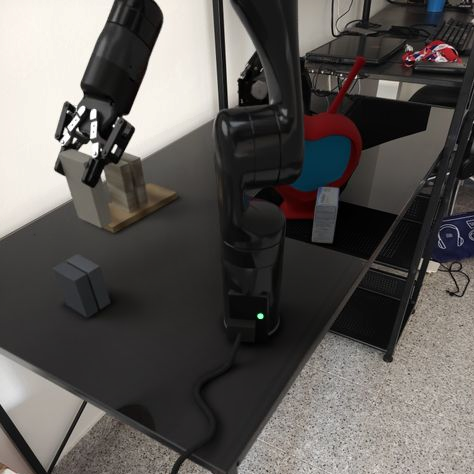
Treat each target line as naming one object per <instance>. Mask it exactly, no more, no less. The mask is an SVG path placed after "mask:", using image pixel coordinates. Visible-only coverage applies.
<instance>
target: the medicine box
mask: <svg viewBox="0 0 474 474" xmlns="http://www.w3.org/2000/svg"><path fill="white" fill-rule="evenodd" d="M339 199H340V188H333V187H319V189H318V195H317V201H316V206H315V213H314V219H313V225H312V233H311V234H312V235H311V242H312V243H318V244H319V243H320V244H331V245H332V244H333V242H334V237H335V230H336V224H337V223H336V222H337V218H338V217H337V216H338V209H339Z"/></svg>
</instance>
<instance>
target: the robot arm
mask: <svg viewBox="0 0 474 474" xmlns="http://www.w3.org/2000/svg"><path fill="white" fill-rule="evenodd" d="M227 2H228V3H229V5H230V7H231V8H232V10H233V11H234V13H235V15H236V16H237V18H238V20H239V22H240V23H241V25H242V26H243V28H244V30H245V31H246V33H247V35H248V37H249V38H250V40H251V42H252V44H253V47H254V48H255V51H257V53H258V55H259V58H260V60H261V63H262V66H263V68H262V69H263V70H264V73H265V77H266V82H267V87H268V94H269V105H257V106H247V107H239V106H237V107H228V108H223V109H220V110H219V111H218V112H217V113H216V115H215V116H214V120H213V122H212V133H211V134H212V135H211V138H212V139H211V140H212V152H213V153H212V154H213V163H214V171H215V179H216V190H217V206H218V207H217V208H218V219H219V239H220V263H221V265H220V266H221V284H222V302H223V303H222V304H223V305H222V306H223V325H224V329H225V330H226V340H227V341H233V342H234V343H233V346H232V349H231V351H230V354H229V356H228V357H229V358H228V360H227V361H226V363H225V364H224V365H223V366H221V367H220V368H218V369H217V370H215V371H213V372H210V373H208V374H206V375H204V376H203V377H201V378H200V379H199V380H198V381H197V382H196V384H195V386H194V390H193V396H194V399H195V401H196V402H197V404H198V406H199V407H200V408H201V410H202V411H203V412H204V413H205V414H206V416H207V418H208V420H209V423H210V424H209V425H210V426H209V430H208V433H207V434H206V435H205V437H203V438H202V439H201V440H200V441H198V442H196V443H195V444H193V445H191V446H190V447H189V448H187V449H186V450H184V451H183V452H182V453H181V454H180V455H179V456H178V457H177V459H176V460H175V462H174V464H173V466H172V468H171V470H170V473H169V474H178V473H179V470H180V468H181V467H182V465H183V464H184V463H185V462H186V460H188V459H189V458H190V456H192V455H193V454H195V453H196V452H198V451H199V450H201V449H203V448H204V447H205V446H206V445H208V444H209V443H210V442H211V441H212V439H213V438H214V436H215V434H216V432H217V427H218V426H217V424H218V423H217V419H216V416H215V415H214V413H213V411H212V410H211V409H210V407H209V405H207V404H206V403H205V401H204V400H203V398H202V396H201V389H202V387H203V386H204V384H206V383H207V382H210V380H213V379H216V378H217V377H220V376H221V375H223V374H225V372H227V371H228V370H229V369H230V368H231V367H232V365H233V364H234V362H235V360H236V356H237V353H238V352H239V348H240V345H241V343H242V342H244V343H255V342H260V343H268V340H269V338H271V337H272V336H273V335H274V334H276V332H277V331H278V329H279V327H280V310H281V296H282V295H281V293H282V280H283V267H284V253H285V242H286V228H287V227H286V226H287V219H286V218H285V214H284V212H283V211H282V210H281V209H280V206H278V205H277V204H275V203H273V202H271V201H268V200H266V199H262V198H259V197H254V196H251V195H249V194H246V192H247V191H253V190H261V189H262V190H263V189H268V188H274V187H277V186H284V185H290V184H293V183H295V182H296V181H297V180H298V179H299V177H300V175H301V173H302V169H303V165H304V157H305V129H304V112H303V97H302V83H301V69H300V57H301V56H300V55H301V54H300V37H299V35H300V33H299V0H227ZM163 25H164V13H163V11H162V8H161V7H160V5H159V4H158V2H156V1H155V0H113V2H112V5H111V8H110V10H109V13H108V15H107V19H106V20H105V24H104V25H103V28H102V30H101V32H100V33H99V35H98V37H97V39H96V41H95V43H94V47H93V49H92V52H91V54H90V57H89V59H88V62H87V65H86V67H85V71H84V73H83V75H82V77H81V80H80V83H79V87H80V90H81V91H82V95H83V96H82V98H81V100H80V101H79V102H78V103H77V105H76V104H72V102H70V101H68V100H66V101H64V102H63V105H62V108H61V112H60V114H59V115H60V116H59V119H58V122H57V126H56V129H55V132H54V137H53V138H54V139H55V141H57V142H58V143H59V145H60V149H59V152H58V155H57V158H56V160H55V163H54V167H53V171H54V172H56V173H57V174H59V175H61V176H63V177H65V173H64V170H63V167H62V164H61V161H60V157H59V153H61V152H64V151H66V150H69V149H74V150H77V151H80V149H81V148H82V147H83V146H84V145H88V144H89V143H90V142H91V156H92V157H93V159H92V158H89V161H88V164H87V166H86V169H85V171H84V173H83V176H82V178H81V182H82V183H84V184H85V185H87V186H89V187H91V188H95V186H96V185H97V183H98V182H99V178H100V177H101V178H102V174H103V173H104V167H105V166H107V165H108V164H109V163H113V164H115V165H116V164H118V163H119V161H120V159H121V157H122V155H123V153H124V152H125V151H126V150H127V148H128V146H129V143H130V142H131V140H132V138H133V136H134V134H135V132H136V127H135V126H134V125H133V124H131V122H129V120H127V119H125V117H126V116H128V115H130V114H131V111H132V108H133V105H134V104H135V101H136V99H137V96H138V93H139V91H140V89H141V86H142V85H143V81H144V79H145V76H146V74H147V70H148V67H149V63H150V59H151V56H152V54H153V51H154V49H155V46H156V44H157V41H158V38H159V36H160V34H161V31H162V29H163ZM123 116H124V117H123ZM65 129H66V130H67V131H66V133H65ZM77 129H78V130H77ZM64 133H65V134H64ZM74 139H75V141H74ZM115 146H116V148H115ZM114 148H115V150H114ZM113 150H114V152H113Z"/></svg>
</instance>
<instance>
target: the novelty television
mask: <svg viewBox="0 0 474 474" xmlns="http://www.w3.org/2000/svg"><path fill="white" fill-rule="evenodd" d="M366 63H367V59H366V58H364V57H363V56H361V55H357V57H356V58H355V61H354V64H353V66H352V68H351V70H350V72H349V74H348V76H347V77H346V79H345V81H344V83H343V84H342V86H341V88H340V89H339V91H338V93H337V95H336V97H335V99H334V100H333V102H332V103H331V105H330V106H329V107H328V110H327V111H325V112H321V113H318V115H315V116H307V115H305V114H304V129H305V157H304V165H303V169H302V173H301V175H300V177H299V179H298V180H297V181H296V182H295V183H293V184H290V185H284V186H277V187H273V189H275V190H276V192H277V193H278V194H279V195H280V196H281V197H282V198H283V201H282V203H280V205H279V208H280V209H281V210H282V211H283V212H284V214H285V218H286V220H314V213H315V206H316V201H317V195H318V189H319V187H333V188H339V189H340V188H341V187H342V186H343V185H344V184H346V182H348V180H349V179H350V178H351V176H352V175H353V173H354V172H355V170H356V169H357V166H358V164H359V162H360V159H361V157H362V151H363V140H362V136H361V133H360V132H359V130H358V127H357V126H356V124H355V123H354V122H353V121H352V120H351V119H350V118H349V117H347V115H344V114H341V113H340V112H337V111H338V109H339V107H340V105H341V103H342V102H343V100H344V98H345V96H346V95H347V93H348V91H349V90H350V88H351V86H352V84H353V83H354V81H355V79H356V77H357V76H358V75H359V73H360V71H361V70H362V68H363V67H364V66H365V65H366Z"/></svg>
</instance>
